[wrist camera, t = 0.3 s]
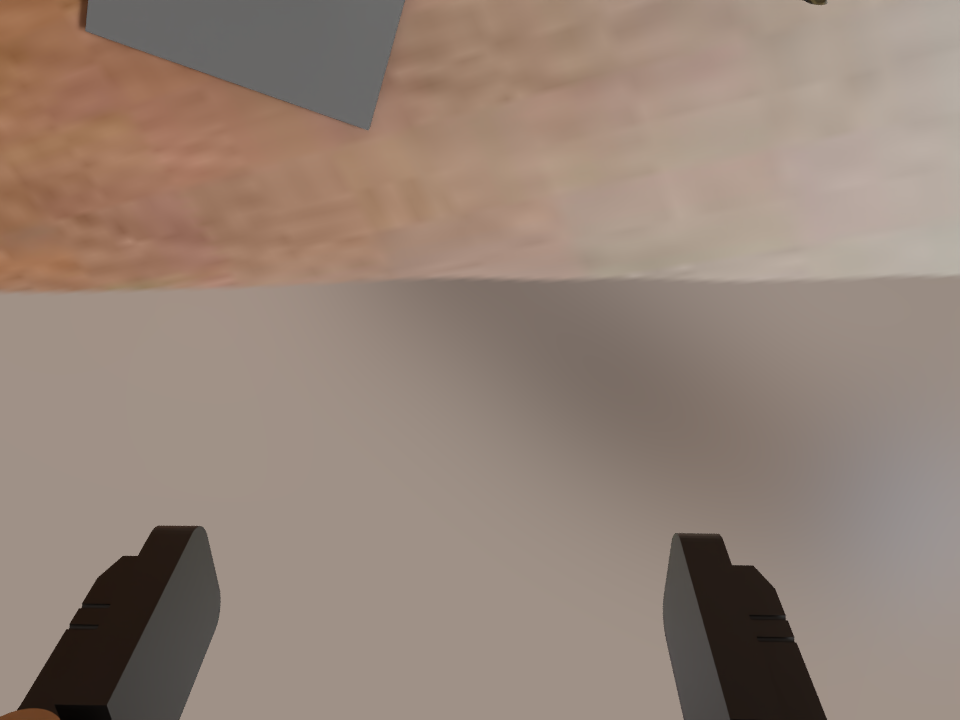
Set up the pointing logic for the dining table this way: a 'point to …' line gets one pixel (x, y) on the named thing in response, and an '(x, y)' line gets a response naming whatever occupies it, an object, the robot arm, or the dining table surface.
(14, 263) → the dining table surface
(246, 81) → the mat
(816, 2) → the filigree lamp shade
